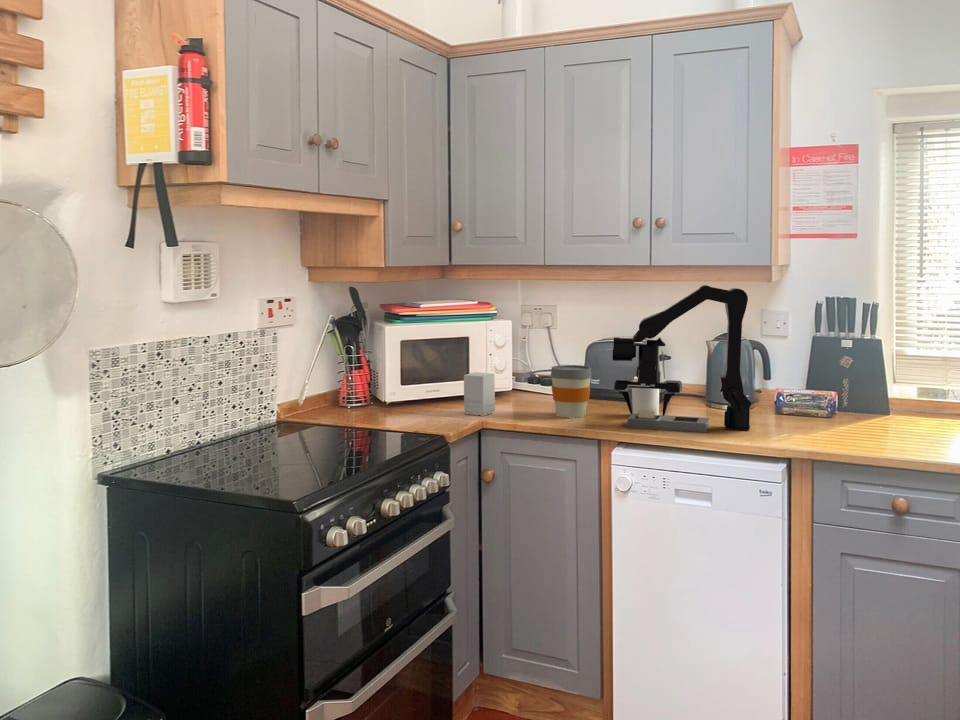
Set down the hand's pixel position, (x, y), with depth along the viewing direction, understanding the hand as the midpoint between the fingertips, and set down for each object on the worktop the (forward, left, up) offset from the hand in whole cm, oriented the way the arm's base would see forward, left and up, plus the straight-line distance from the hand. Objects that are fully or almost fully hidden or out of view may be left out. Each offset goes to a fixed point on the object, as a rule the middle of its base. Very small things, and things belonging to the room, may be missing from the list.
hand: (647, 414), depth 244 cm
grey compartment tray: (-6, 0, -3) cm, 7 cm away
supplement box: (+53, -2, -4) cm, 53 cm away
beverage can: (+3, -14, -3) cm, 15 cm away
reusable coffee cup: (+25, -8, -3) cm, 27 cm away
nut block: (0, 0, -3) cm, 3 cm away
